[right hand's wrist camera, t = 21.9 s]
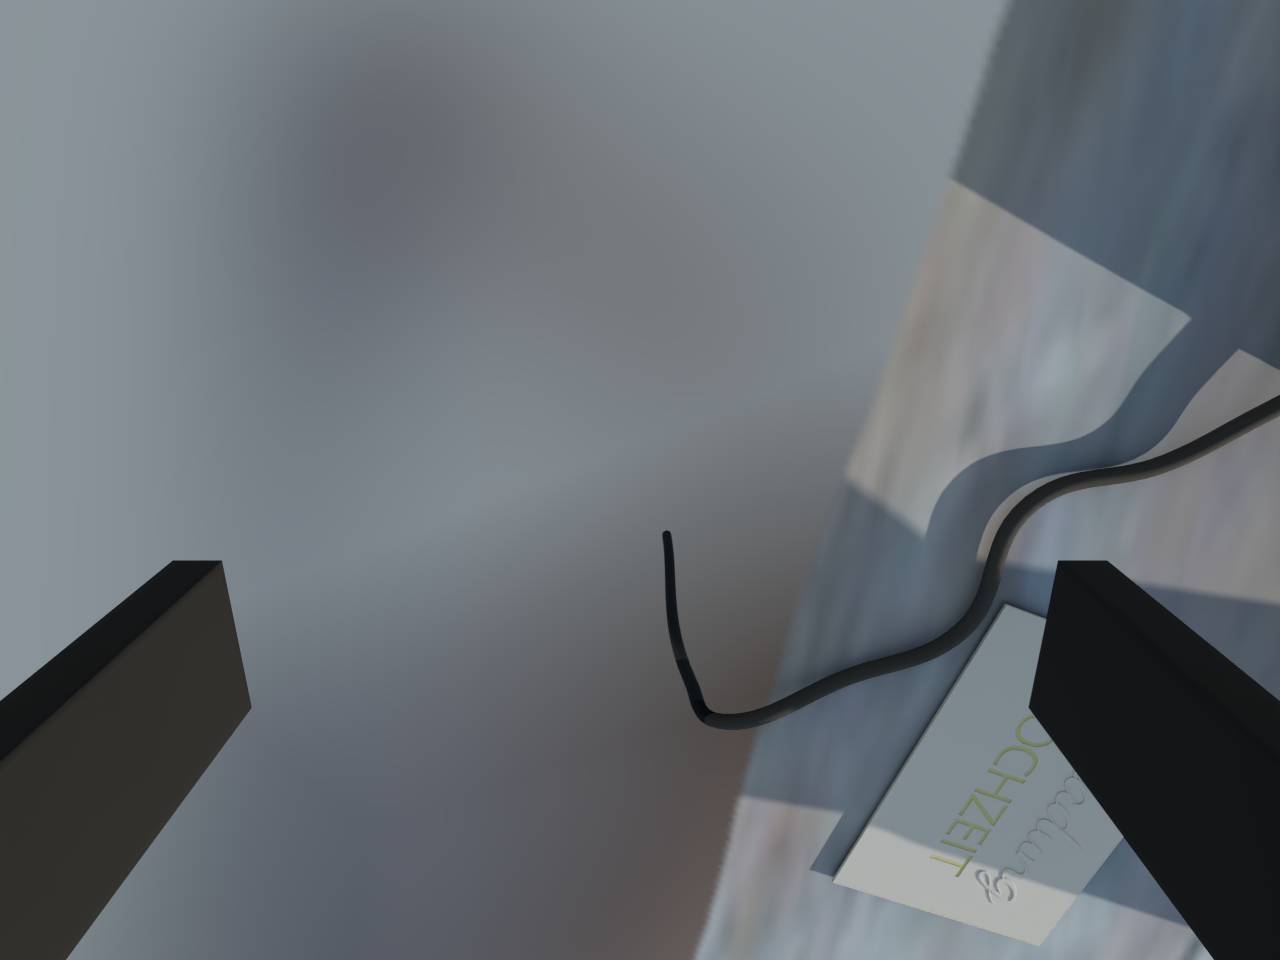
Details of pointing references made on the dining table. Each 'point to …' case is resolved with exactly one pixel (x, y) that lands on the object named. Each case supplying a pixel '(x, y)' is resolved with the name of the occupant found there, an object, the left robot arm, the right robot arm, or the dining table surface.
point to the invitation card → (986, 805)
